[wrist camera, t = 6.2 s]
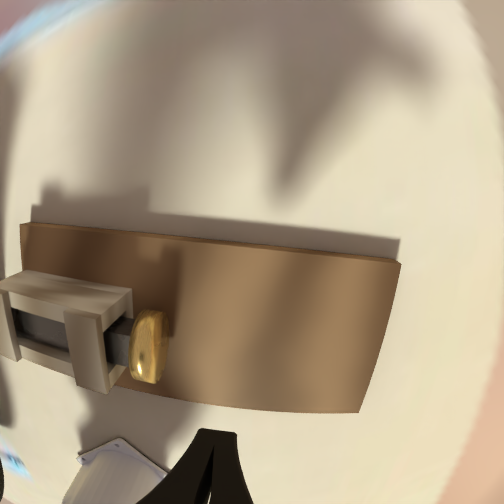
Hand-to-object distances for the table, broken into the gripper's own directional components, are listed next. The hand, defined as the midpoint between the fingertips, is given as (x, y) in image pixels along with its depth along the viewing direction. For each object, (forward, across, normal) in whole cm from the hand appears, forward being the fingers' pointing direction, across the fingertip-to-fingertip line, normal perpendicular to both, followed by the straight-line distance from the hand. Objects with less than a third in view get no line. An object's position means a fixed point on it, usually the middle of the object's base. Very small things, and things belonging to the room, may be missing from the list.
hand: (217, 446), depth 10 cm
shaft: (+8, +10, -1) cm, 13 cm away
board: (+9, +3, -1) cm, 10 cm away
